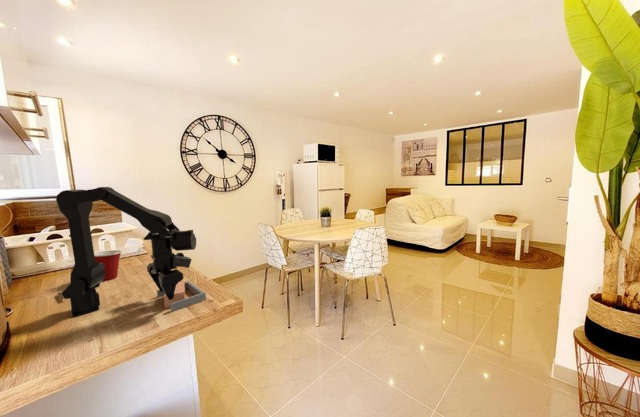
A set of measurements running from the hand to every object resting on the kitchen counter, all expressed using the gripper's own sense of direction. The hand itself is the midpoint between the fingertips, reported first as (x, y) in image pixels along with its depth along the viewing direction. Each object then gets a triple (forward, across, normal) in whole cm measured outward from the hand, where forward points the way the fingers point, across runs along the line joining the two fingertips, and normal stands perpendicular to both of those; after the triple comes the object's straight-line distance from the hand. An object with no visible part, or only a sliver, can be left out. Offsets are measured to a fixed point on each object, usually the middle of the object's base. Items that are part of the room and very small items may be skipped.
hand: (166, 295), depth 88 cm
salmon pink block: (+3, 0, -3) cm, 4 cm away
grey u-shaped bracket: (+3, 0, -4) cm, 5 cm away
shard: (+3, +35, +22) cm, 41 cm away
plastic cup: (+3, +45, +10) cm, 46 cm away
